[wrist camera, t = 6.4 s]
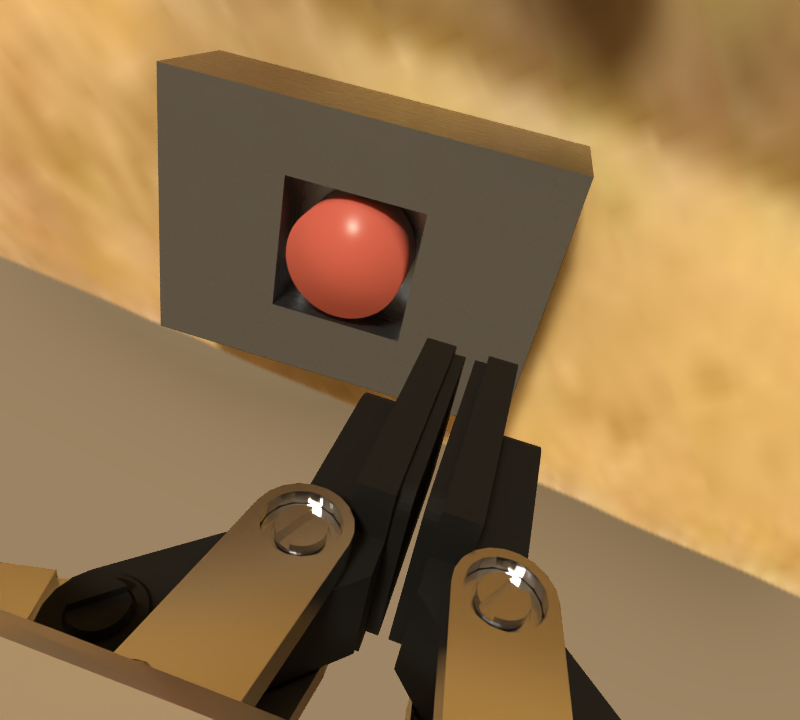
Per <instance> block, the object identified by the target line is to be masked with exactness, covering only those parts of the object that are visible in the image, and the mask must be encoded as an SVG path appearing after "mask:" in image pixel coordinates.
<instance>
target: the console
mask: <svg viewBox="0 0 800 720" xmlns="http://www.w3.org/2000/svg"><path fill="white" fill-rule="evenodd" d="M157 113H158V176H159V239H160V302H161V326H164V327H167V328H171V329H174V330H177V331H180V332H184V333H187V334H190V335H193V336H197V337H200V338H203V339H206V340H210V341H213V342H216V343H219V344H223V345H226V346H229V347H233V348H236V349H239V350H242V351H246V352H249V353H252V354H255V355H259V356H262V357H265V358H268V359H272V360H275V361H278V362H281V363H285V364H288V365H291V366H295V367H298V368H301V369H304V370H308V371H311V372H314V373H317V374H321V375H324V376H327V377H330V378H334V379H337V380H340V381H344V382H347V383H350V384H353V385H357V386H360V387H363V388H366V389H370V390H373V391H376V392H379V393H383V394H386V395H389V396H392V397H396V398H398V396H399V394H400V392H401V390H402V388H403V386H404V384H405V382H406V380H407V378H408V376H409V374H410V372H411V370H412V368H413V366H414V364H415V362H416V360H417V358H418V356H419V354H420V352H421V350H422V348H423V346H424V344H425V342H426V340H427V338H431V339H434V340H438V341H441V342H444V343H448V344H451V345H455V346H457V349H456V353H455V354H457V355H460V356H464V357H466V359H465V363H464V367H463V370H462V374H461V377H460V381H459V385H458V388H457V392H456V395H455V399H454V402H453V406H452V410H451V413H450V414H451V415H454V416H457V413H458V410H459V407H460V404H461V401H462V398H463V395H464V392H465V389H466V386H467V383H468V380H469V377H470V374H471V371H472V368H473V365H474V362H475V360H477V361H480V362H484V363H487V361H488V358H489V356H492V357H495V358H498V359H502V360H505V361H508V362H512V363H515V364H518V370H517V375H516V379H515V384H514V389H513V393H514V390H515V388H516V385H517V382H518V379H519V377H520V374H521V371H522V369H523V366H524V363H525V361H526V358H527V355H528V352H529V350H530V347H531V344H532V342H533V339H534V336H535V334H536V331H537V328H538V326H539V323H540V320H541V317H542V315H543V312H544V309H545V307H546V304H547V301H548V299H549V296H550V293H551V291H552V288H553V285H554V282H555V280H556V277H557V274H558V272H559V269H560V266H561V264H562V261H563V258H564V256H565V253H566V250H567V247H568V245H569V242H570V239H571V237H572V234H573V231H574V229H575V226H576V223H577V220H578V218H579V215H580V212H581V210H582V207H583V204H584V202H585V199H586V196H587V194H588V191H589V188H590V185H591V183H592V180H593V177H594V175H593V167H592V159H591V151H590V147H589V146H585V145H581V144H577V143H574V142H570V141H566V140H562V139H558V138H554V137H551V136H547V135H543V134H539V133H535V132H531V131H528V130H524V129H520V128H516V127H512V126H508V125H504V124H501V123H497V122H493V121H489V120H485V119H481V118H478V117H474V116H470V115H466V114H462V113H458V112H455V111H451V110H447V109H443V108H439V107H435V106H431V105H428V104H424V103H420V102H416V101H412V100H408V99H405V98H401V97H397V96H393V95H389V94H385V93H381V92H378V91H374V90H370V89H366V88H362V87H358V86H355V85H351V84H347V83H343V82H339V81H335V80H332V79H328V78H324V77H320V76H316V75H312V74H308V73H305V72H301V71H297V70H293V69H289V68H285V67H282V66H278V65H274V64H270V63H266V62H262V61H258V60H255V59H251V58H247V57H243V56H239V55H235V54H232V53H228V52H224V51H220V50H219V51H213V52H207V53H202V54H196V55H190V56H184V57H178V58H172V59H166V60H161V61H157ZM336 190H341V191H344V192H348V193H352V194H355V195H359V196H362V197H366V198H370V199H373V200H377V201H380V202H384V203H388V204H391V205H395V206H399V207H400V209H401V210H402V211H403V212H404V214H405V215H406V217H407V219H408V220H409V222H410V224H411V227H412V230H413V233H414V238H415V256H414V260H413V264H412V266H411V268H410V271H409V272H408V274H407V276H406V278H405V279H404V281H403V283H402V285H401V286H400V288H399V290H398V292H397V293H396V295H395V296H394V298H393V300H392V301H391V302H390V303H389V304H388V305H387V306H386V307H385V308H383V309H382V310H381V311H379V312H377V313H375V314H373V315H371V316H367V317H363V318H354V319H349V318H341V317H337V316H333V315H331V314H328V313H326V312H324V311H322V310H320V309H318V308H317V307H315V306H314V305H313V304H311V303H310V302H309V301H308V300H307V299H306V298H305V297H304V296H303V295H302V294H301V293H300V291H299V290H298V289H297V287H296V286H295V284H294V282H293V280H292V278H291V276H290V273H289V270H288V266H287V261H286V245H287V240H288V237H289V234H290V232H291V230H292V228H293V226H294V225H295V223H296V222H297V221H298V220H299V219H300V218H301V217H302V216H303V215H304V214H305V213H306V212H307V211H309V210H310V209H311V208H312V207H313V206H315V205H316V204H317V203H318V202H319V201H320V200H322V199H323V198H324V197H325V196H327V195H328V194H330V193H332V192H334V191H336ZM513 393H512V396H513Z"/></svg>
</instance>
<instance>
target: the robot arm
mask: <svg viewBox="0 0 800 720" xmlns="http://www.w3.org/2000/svg"><path fill="white" fill-rule="evenodd" d="M456 349H457V346H455V345H451V344H448V343H444V342H441V341H438V340H434V339H431V338H427V340H426V342H425V344H424V346H423V348H422V350H421V352H420V354H419V356H418V358H417V360H416V362H415V364H414V366H413V368H412V370H411V372H410V374H409V376H408V378H407V380H406V382H405V384H404V386H403V388H402V390H401V392H400V394H399V396H398V398H397V400H396V402H395V401H392V400H389V399H385V398H382V397H379V396H376V395H373V394H369V393H365V394H364V395H363V396H362V397H361V399H360V401H359V402H358V404H357V406H356V407H355V409H354V411H353V413H352V414H351V416H350V418H349V419H348V421H347V423H346V425H345V426H344V428H343V430H342V432H341V433H340V435H339V436H338V438H337V440H336V442H335V443H334V445H333V447H332V448H331V450H330V452H329V453H328V455H327V457H326V459H325V460H324V462H323V464H322V465H321V467H320V469H319V471H318V472H317V474H316V476H315V477H314V479H313V481H312V482H311V484H301V483H296V484H289V485H283V486H280V487H278V488H275V489H273V490H270V491H268V492H267V493H266V494H264V495H263V496H262V497H260V498H259V499H258V500H257V501H256V502H255V503H254V504H253V505H252V506H251V507H250V508H249V509H248V510H247V511H246V513H245V514H244V515H243V516H242V517H241V518H240V519H239V520H238V521H237V522H236V523H235V524H234V525H233V526H232V527H231V528H230V530H229V531H228V532H224V533H221V534H217V535H213V536H210V537H207V538H203V539H199V540H196V541H192V542H189V543H185V544H181V545H178V546H174V547H171V548H167V549H164V550H160V551H157V552H153V553H149V554H146V555H142V556H139V557H135V558H132V559H128V560H124V561H121V562H118V563H114V564H110V565H107V566H103V567H100V568H96V569H92V570H90V571H87V572H85V573H82V574H80V575H78V576H75V577H73V578H71V579H62V578H58V576H57V571H56V570H53V569H46V568H39V567H31V566H23V565H16V564H9V563H2V562H0V720H298V719H299V718H300V716H301V714H302V713H303V711H304V709H305V707H306V706H307V704H308V702H309V701H310V699H311V697H312V696H313V694H314V692H315V691H316V689H317V687H318V685H319V684H320V682H321V680H322V679H323V676H324V674H325V671H326V669H327V666H328V664H330V663H332V662H334V661H337V660H339V659H341V658H344V657H346V656H349V655H351V654H353V653H354V650H356V651H359V648H360V646H361V643H362V640H363V637H364V634H365V632H366V631H367V632H370V633H373V634H375V635H378V634H379V631H380V628H381V626H382V623H383V620H384V617H385V614H386V610H387V608H388V605H389V602H390V599H391V596H392V593H393V591H394V587H395V585H396V582H397V579H398V576H399V573H400V570H401V567H402V564H403V561H404V559H405V556H406V553H407V550H408V547H409V544H410V541H411V538H412V535H413V532H414V529H415V527H416V524H417V521H418V518H419V515H420V512H421V509H422V506H423V503H424V500H425V497H426V494H427V491H428V489H429V486H430V483H431V479H432V476H433V473H434V470H435V466H436V463H437V459H438V456H439V452H440V448H441V445H442V442H443V438H444V434H445V431H446V427H447V424H448V420H449V417H450V413H451V410H452V406H453V402H454V399H455V395H456V392H457V388H458V385H459V381H460V377H461V374H462V370H463V367H464V363H465V359H466V357H464V356H460V355H457V354H455V353H456ZM517 370H518V364H515V363H512V362H508V361H505V360H502V359H498V358H495V357H492V356H489V358H488V361H487V363H484V362H480V361H477V360H475V362H474V365H473V368H472V371H471V374H470V377H469V380H468V383H467V386H466V389H465V392H464V395H463V398H462V401H461V404H460V407H459V410H458V413H457V416H456V419H455V421H454V424H453V427H452V430H451V433H450V436H449V439H448V442H447V445H446V448H445V451H444V454H443V457H442V460H441V463H440V466H439V469H438V472H437V475H436V478H435V481H434V484H433V487H432V490H431V493H430V496H429V499H428V503H427V506H426V509H425V512H424V516H423V519H422V522H421V526H420V529H419V533H418V537H417V540H416V543H415V547H414V550H413V554H412V558H411V562H410V565H409V568H408V572H407V575H406V579H405V582H404V586H403V589H402V593H401V596H400V600H399V603H398V607H397V611H396V614H395V618H394V621H393V625H392V628H391V632H390V636H389V640H392V641H395V642H397V643H400V644H402V645H401V648H400V651H399V655H398V658H397V661H396V664H395V668H394V669H395V671H396V673H397V675H398V677H399V679H400V681H401V682H402V684H403V686H404V688H405V690H406V692H407V694H408V696H409V697H410V699H409V702H408V706H407V710H406V718H405V720H621V719H620V718H619V717H618V715H617V714H616V713H615V712H614V710H613V709H612V708H611V706H610V705H609V704H608V702H607V701H606V700H605V698H604V697H603V696H602V694H601V693H600V692H599V691H598V689H597V688H596V687H595V685H594V684H593V683H592V681H591V680H590V679H589V677H588V676H587V675H586V674H585V672H584V671H583V670H582V668H581V667H580V666H579V664H578V663H577V662H576V661H575V659H574V658H573V657H572V655H571V654H570V653H569V651H568V650H567V649H566V648H565V643H564V634H563V625H562V616H561V608H560V602H559V599H558V595H557V592H556V589H555V587H554V586H553V584H552V582H551V581H550V579H549V577H548V576H547V575H546V574H545V573H544V572H543V571H542V570H541V569H540V568H539V567H538V566H537V565H536V564H535V563H533V562H532V561H530V560H529V559H528V553H529V545H530V537H531V529H532V521H533V513H534V505H535V497H536V488H537V481H538V473H539V465H540V457H541V448H540V447H538V446H535V445H532V444H529V443H526V442H523V441H519V440H516V439H513V438H510V437H507V436H503V435H504V430H505V426H506V421H507V416H508V412H509V407H510V403H511V398H512V393H513V389H514V384H515V379H516V375H517Z"/></svg>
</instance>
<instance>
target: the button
mask: <svg viewBox="0 0 800 720" xmlns="http://www.w3.org/2000/svg"><path fill="white" fill-rule="evenodd" d="M414 256H415V238H414V233H413V230H412V227H411V224H410V222H409V220H408V219H407V217H406V215H405V214H404V212H403V211H402V210H401V209H400V207H399V206H395V205H391V204H388V203H384V202H380V201H377V200H373V199H370V198H366V197H362V196H359V195H355V194H352V193H348V192H344V191H341V190H336V191H334V192H332V193H330V194H328V195H327V196H325V197H324V198H323V199H322V200H320V201H319V202H318V203H317V204H316V205H315V206H313V207H312V208H311V209H310V210H309V211H307V212H306V213H305V214H304V215H303V216H302V217H301V218H300V219H299V220H298V221H297V222H296V223H295V225H294V226H293V228H292V230H291V232H290V234H289V237H288V240H287V245H286V261H287V266H288V270H289V273H290V276H291V278H292V280H293V282H294V284H295V286H296V287H297V289H298V290H299V291H300V293H301V294H302V295H303V296H304V297H305V298H306V299H307V300H308V301H309V302H310V303H311V304H313V305H314V306H315V307H317V308H318V309H320V310H322V311H324V312H326V313H328V314H331V315H333V316H337V317H341V318H349V319H354V318H363V317H367V316H371V315H373V314H375V313H377V312H379V311H381V310H382V309H383V308H385V307H386V306H387V305H388V304H389V303H390V302H391V301H392V300H393V298H394V296H395V295H396V293H397V292H398V290H399V288H400V286H401V285H402V283H403V281H404V279H405V278H406V276H407V274H408V272H409V271H410V268H411V266H412V264H413V260H414Z"/></svg>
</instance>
